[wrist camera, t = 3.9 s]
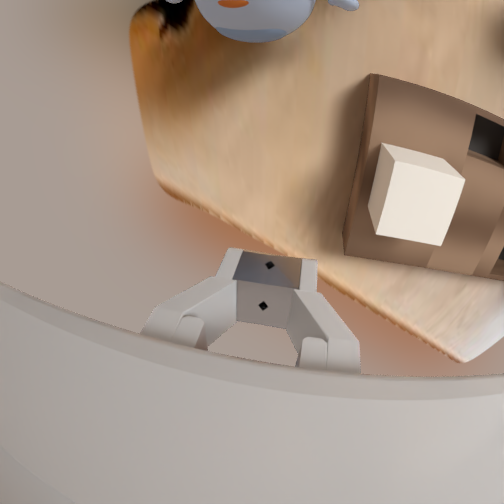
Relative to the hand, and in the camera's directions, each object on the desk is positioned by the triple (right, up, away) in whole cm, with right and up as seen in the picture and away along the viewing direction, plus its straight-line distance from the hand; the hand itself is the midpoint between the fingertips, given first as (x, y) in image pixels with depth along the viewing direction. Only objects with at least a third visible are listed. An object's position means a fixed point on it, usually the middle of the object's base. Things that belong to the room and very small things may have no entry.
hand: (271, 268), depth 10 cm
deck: (+19, +6, +8) cm, 21 cm away
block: (+9, +5, +7) cm, 13 cm away
